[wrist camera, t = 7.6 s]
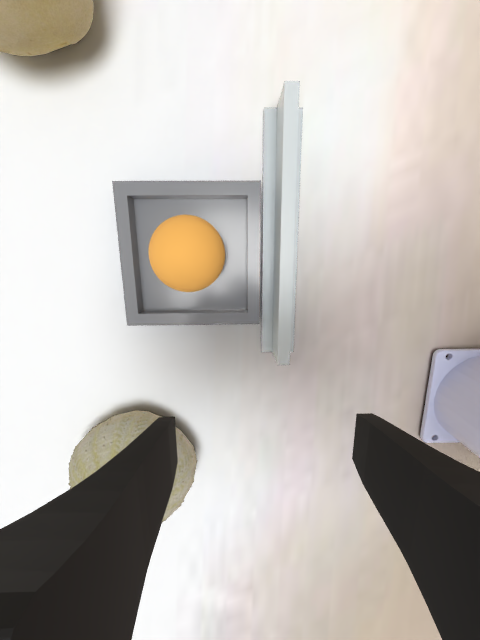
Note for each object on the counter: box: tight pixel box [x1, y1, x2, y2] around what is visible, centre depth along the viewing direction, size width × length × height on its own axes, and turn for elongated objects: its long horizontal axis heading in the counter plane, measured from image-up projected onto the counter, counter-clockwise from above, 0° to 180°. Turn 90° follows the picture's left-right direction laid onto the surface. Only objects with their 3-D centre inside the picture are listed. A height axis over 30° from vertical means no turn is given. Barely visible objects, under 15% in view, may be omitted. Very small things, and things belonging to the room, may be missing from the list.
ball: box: [148, 215, 225, 292], centre depth 16 cm, size 4×4×4 cm
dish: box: [112, 181, 261, 325], centre depth 18 cm, size 9×9×2 cm
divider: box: [261, 81, 303, 365], centre depth 18 cm, size 2×16×3 cm, turn 1°
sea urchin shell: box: [69, 410, 197, 522], centre depth 21 cm, size 9×8×8 cm
